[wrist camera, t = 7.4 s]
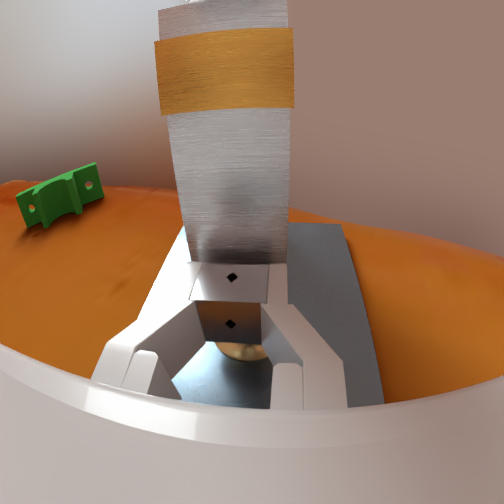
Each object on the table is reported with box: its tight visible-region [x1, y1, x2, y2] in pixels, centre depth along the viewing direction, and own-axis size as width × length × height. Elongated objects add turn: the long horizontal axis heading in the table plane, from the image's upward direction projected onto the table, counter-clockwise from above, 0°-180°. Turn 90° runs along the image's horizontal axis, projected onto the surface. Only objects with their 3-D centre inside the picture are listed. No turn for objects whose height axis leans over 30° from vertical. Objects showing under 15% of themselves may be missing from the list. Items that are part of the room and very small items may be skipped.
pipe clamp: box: [16, 162, 104, 229], centre depth 26 cm, size 11×4×5 cm, turn 121°
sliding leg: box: [154, 0, 294, 264], centre depth 9 cm, size 3×3×13 cm
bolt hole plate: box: [137, 223, 385, 409], centre depth 14 cm, size 12×18×1 cm, turn 175°
